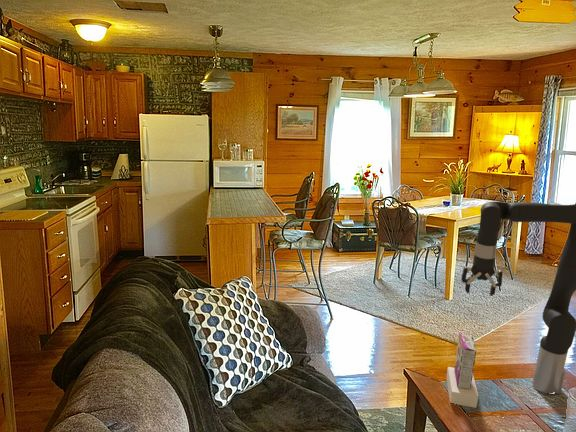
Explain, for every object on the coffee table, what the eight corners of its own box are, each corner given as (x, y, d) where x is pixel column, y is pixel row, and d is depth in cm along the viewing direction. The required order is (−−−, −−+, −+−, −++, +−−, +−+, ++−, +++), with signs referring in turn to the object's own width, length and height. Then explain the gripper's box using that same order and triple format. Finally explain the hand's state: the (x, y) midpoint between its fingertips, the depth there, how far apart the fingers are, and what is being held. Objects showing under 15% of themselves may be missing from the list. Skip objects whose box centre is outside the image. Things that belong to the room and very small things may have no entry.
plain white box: (470, 381, 184) (472, 370, 182) (476, 407, 169) (478, 395, 167) (446, 377, 186) (447, 366, 184) (450, 403, 171) (451, 391, 169)
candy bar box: (453, 370, 182) (458, 332, 177) (466, 372, 181) (472, 334, 176) (456, 388, 171) (462, 348, 167) (470, 390, 170) (477, 350, 166)
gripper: (466, 255, 176) (461, 295, 180) (507, 259, 173) (500, 300, 177) (464, 249, 183) (459, 287, 187) (503, 253, 180) (497, 292, 184)
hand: (479, 293), depth 182 cm, fingers open, 8 cm apart
